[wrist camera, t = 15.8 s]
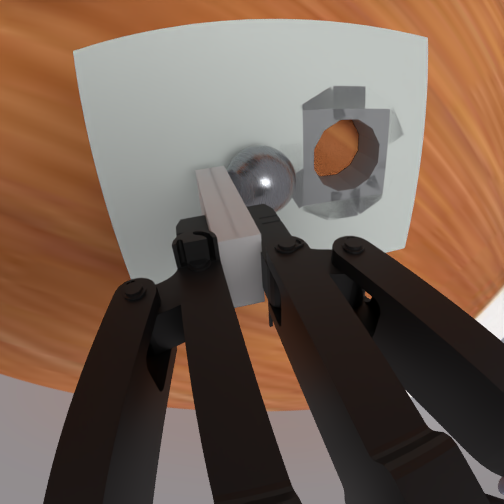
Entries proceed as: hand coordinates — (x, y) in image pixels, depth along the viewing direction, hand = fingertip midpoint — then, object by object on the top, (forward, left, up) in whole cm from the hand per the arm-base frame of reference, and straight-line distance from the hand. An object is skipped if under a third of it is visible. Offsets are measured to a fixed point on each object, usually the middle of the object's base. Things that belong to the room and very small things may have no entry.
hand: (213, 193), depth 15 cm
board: (+4, 0, -4) cm, 6 cm away
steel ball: (+2, 0, 0) cm, 2 cm away
